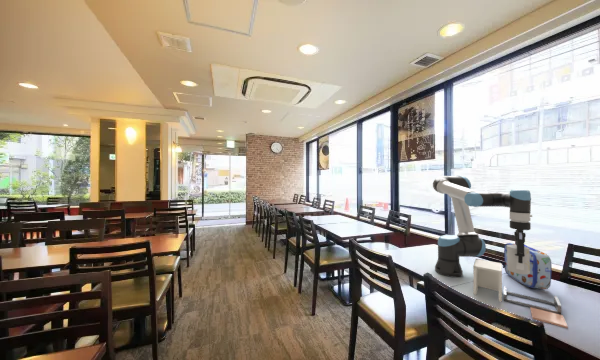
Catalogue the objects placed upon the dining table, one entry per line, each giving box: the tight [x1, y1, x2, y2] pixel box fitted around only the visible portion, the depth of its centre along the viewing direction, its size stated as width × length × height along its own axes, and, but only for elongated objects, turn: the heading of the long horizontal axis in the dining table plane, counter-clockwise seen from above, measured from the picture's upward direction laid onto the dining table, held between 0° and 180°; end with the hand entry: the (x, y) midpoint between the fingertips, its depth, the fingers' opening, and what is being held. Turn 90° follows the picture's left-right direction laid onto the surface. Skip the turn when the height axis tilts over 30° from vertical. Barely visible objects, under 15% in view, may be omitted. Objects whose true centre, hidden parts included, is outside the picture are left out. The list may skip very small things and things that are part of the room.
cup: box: [507, 245, 530, 274], centre depth 116 cm, size 8×8×12 cm
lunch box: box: [502, 242, 552, 290], centre depth 137 cm, size 28×10×22 cm, turn 168°
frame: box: [503, 286, 562, 315], centre depth 113 cm, size 19×11×4 cm, turn 49°
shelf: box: [472, 258, 503, 302], centre depth 123 cm, size 11×14×15 cm
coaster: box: [529, 307, 569, 329], centre depth 101 cm, size 10×10×1 cm
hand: (519, 266), depth 115 cm, fingers closed on cup, 8 cm apart
